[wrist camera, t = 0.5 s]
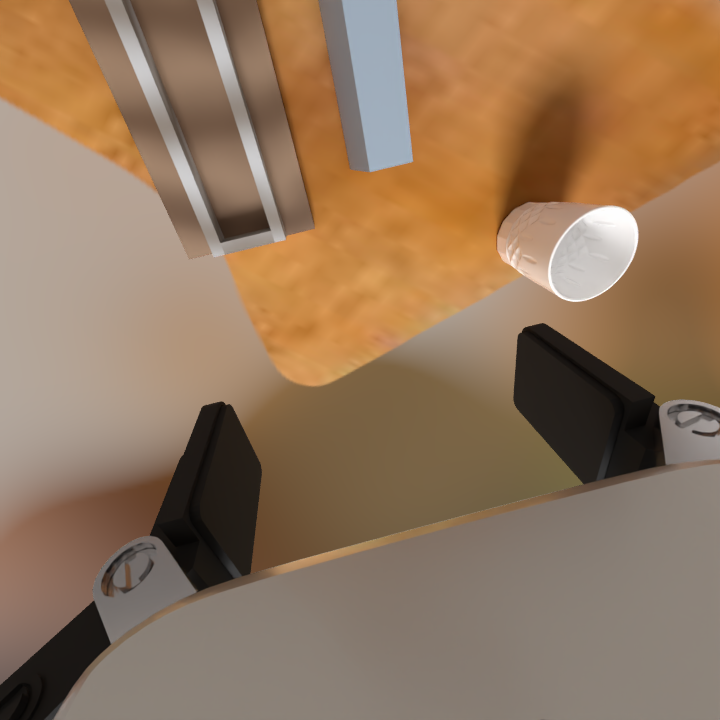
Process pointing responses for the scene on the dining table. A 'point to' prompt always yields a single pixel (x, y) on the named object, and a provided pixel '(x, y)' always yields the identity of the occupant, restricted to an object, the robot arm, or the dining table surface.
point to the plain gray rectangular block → (368, 81)
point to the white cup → (569, 246)
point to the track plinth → (203, 116)
